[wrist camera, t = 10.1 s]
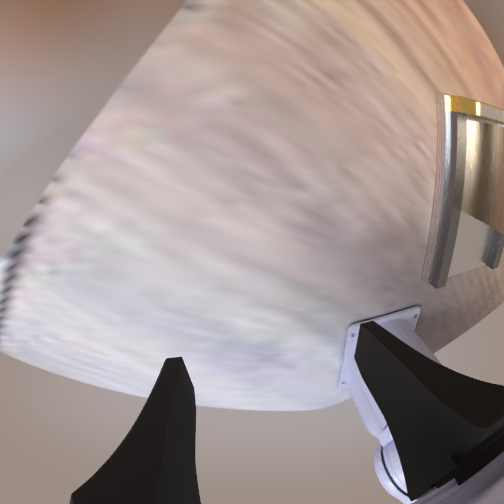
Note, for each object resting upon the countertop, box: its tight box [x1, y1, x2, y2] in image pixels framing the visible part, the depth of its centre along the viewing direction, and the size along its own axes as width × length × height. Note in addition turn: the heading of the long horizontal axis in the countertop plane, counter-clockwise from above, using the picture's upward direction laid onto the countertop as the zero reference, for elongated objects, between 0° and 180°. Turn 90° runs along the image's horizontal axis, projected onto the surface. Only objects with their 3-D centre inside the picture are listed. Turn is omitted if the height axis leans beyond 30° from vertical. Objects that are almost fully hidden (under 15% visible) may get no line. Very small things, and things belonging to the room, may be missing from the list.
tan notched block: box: [466, 121, 504, 234], centre depth 16 cm, size 8×4×5 cm, turn 6°
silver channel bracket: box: [421, 93, 504, 289], centre depth 19 cm, size 16×11×3 cm
